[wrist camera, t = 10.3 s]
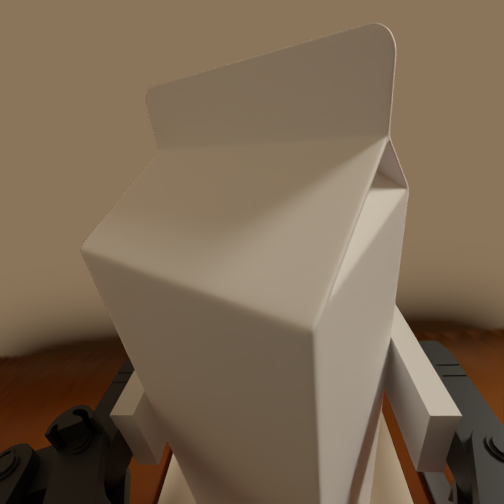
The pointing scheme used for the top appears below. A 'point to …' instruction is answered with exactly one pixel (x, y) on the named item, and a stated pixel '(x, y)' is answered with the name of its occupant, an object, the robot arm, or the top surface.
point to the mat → (383, 485)
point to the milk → (265, 269)
